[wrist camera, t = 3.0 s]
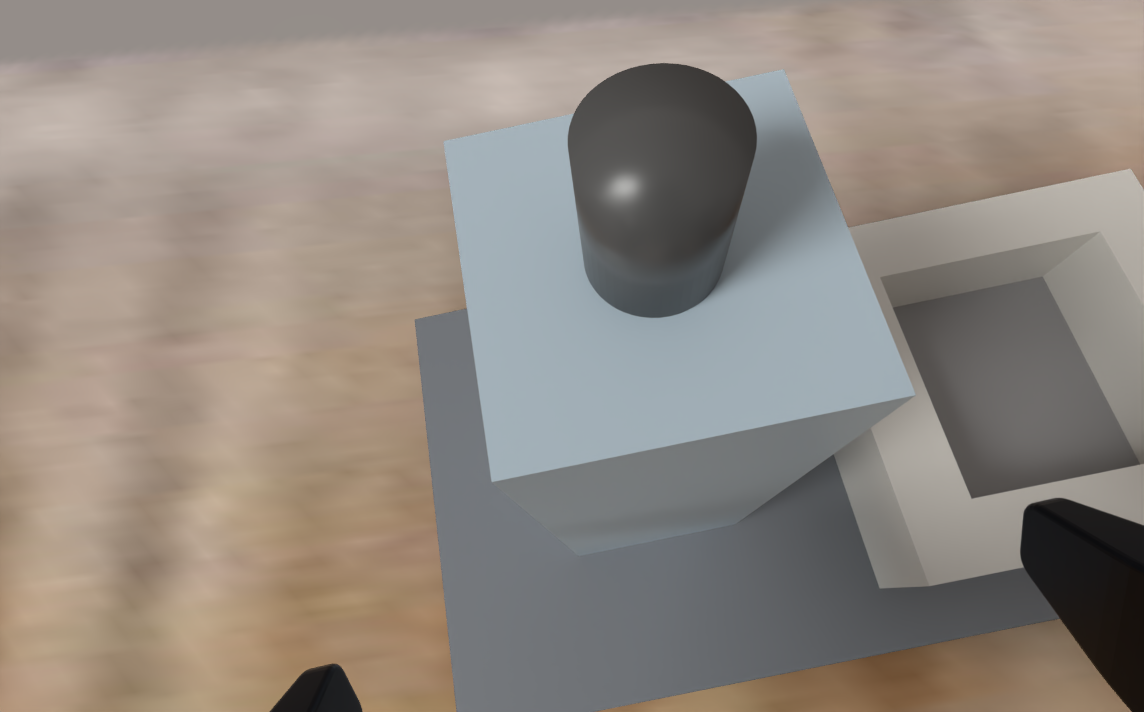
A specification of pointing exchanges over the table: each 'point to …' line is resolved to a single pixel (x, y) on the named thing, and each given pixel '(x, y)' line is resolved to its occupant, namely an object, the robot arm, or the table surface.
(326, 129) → the table surface
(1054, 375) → the socket
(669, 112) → the plug
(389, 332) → the table surface
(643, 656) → the board
